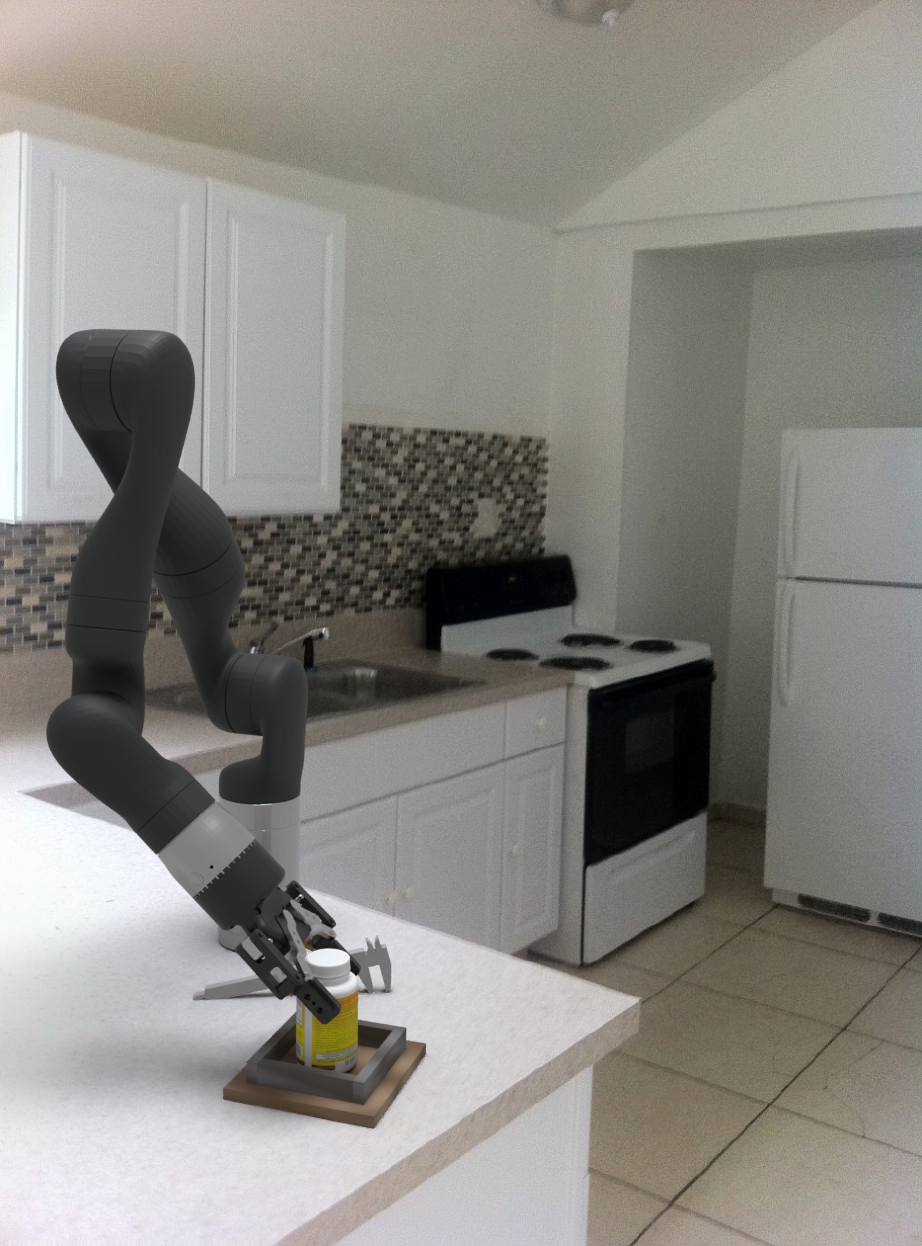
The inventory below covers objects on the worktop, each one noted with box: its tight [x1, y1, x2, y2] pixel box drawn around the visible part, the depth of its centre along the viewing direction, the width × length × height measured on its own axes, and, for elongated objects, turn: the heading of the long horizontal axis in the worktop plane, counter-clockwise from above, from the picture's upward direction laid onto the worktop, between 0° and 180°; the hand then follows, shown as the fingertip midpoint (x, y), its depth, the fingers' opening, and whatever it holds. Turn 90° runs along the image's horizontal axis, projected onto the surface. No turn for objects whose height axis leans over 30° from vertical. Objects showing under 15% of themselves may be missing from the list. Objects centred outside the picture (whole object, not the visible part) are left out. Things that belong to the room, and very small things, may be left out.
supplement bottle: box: [295, 949, 359, 1073], centre depth 113 cm, size 6×6×10 cm
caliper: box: [192, 934, 392, 1001], centre depth 130 cm, size 20×1×6 cm, turn 99°
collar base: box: [222, 1011, 427, 1129], centre depth 113 cm, size 14×14×3 cm
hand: (344, 996), depth 113 cm, fingers open, 8 cm apart
